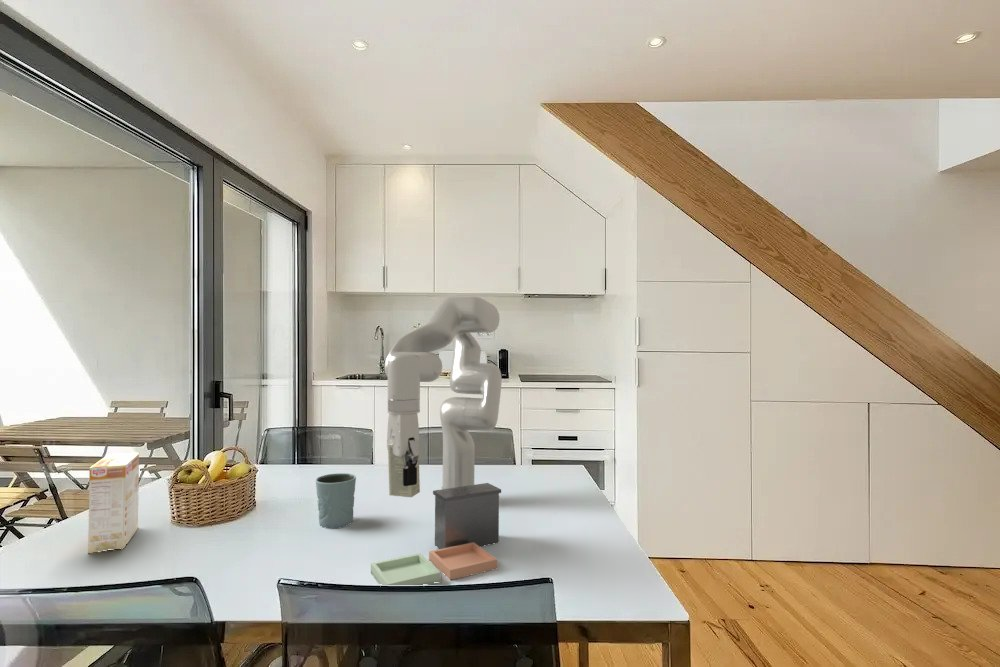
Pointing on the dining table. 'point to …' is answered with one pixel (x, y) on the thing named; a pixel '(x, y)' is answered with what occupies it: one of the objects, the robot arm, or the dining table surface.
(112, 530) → the coffeecake box
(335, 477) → the grey-green cup
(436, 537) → the charcoal unit
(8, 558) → the dining table surface
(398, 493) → the skincare box
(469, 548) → the terracotta tray
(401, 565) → the sage tray
